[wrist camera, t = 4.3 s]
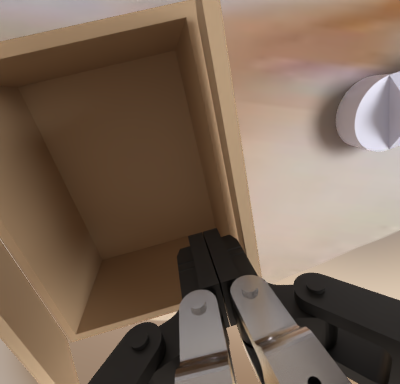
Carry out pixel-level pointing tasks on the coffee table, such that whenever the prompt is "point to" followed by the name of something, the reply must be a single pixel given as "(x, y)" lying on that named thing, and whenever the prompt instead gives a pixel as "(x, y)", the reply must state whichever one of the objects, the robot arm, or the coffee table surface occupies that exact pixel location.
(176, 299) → the carton
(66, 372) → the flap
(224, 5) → the coffee table surface
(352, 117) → the wedge on round base
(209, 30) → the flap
